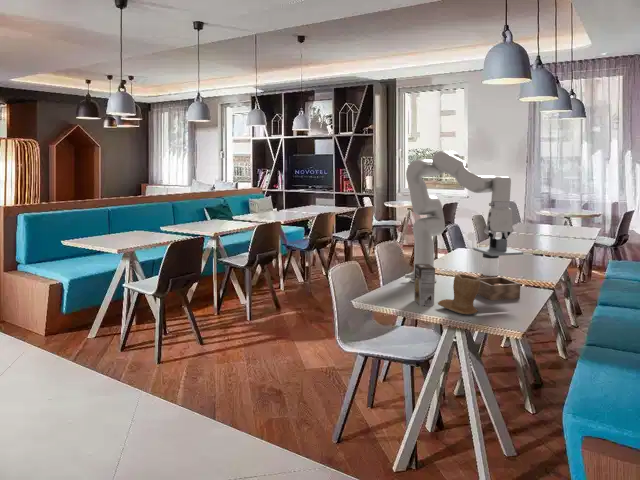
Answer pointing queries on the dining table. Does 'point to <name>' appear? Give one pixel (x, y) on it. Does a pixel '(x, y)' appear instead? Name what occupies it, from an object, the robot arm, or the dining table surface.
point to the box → (498, 288)
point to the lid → (498, 249)
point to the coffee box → (424, 284)
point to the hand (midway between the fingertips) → (498, 246)
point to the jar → (490, 265)
